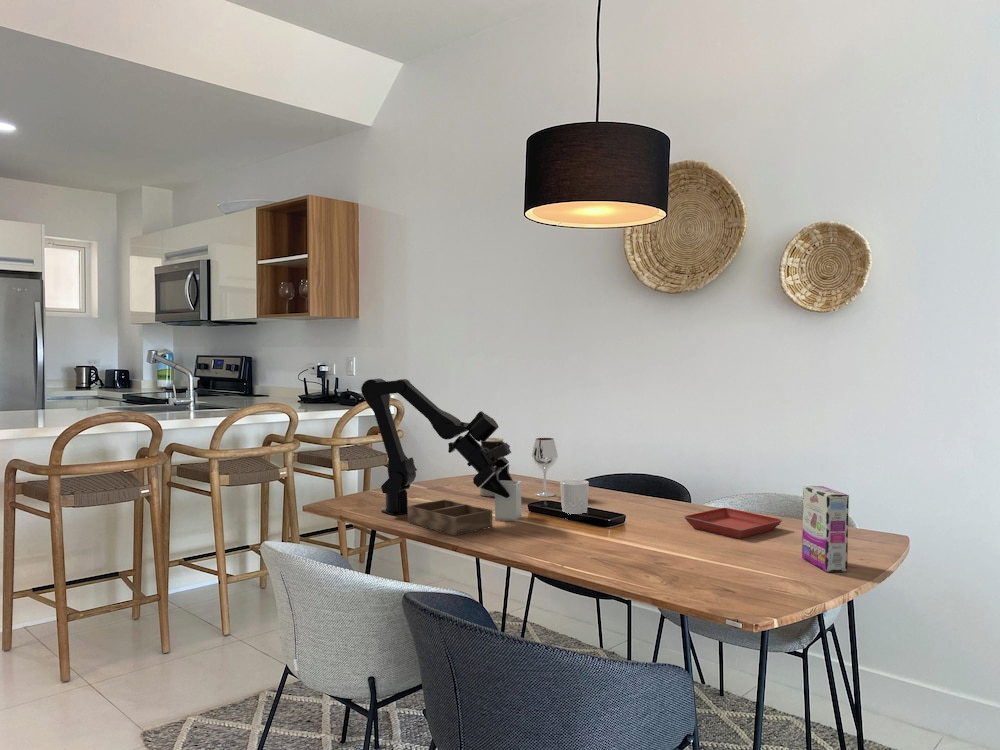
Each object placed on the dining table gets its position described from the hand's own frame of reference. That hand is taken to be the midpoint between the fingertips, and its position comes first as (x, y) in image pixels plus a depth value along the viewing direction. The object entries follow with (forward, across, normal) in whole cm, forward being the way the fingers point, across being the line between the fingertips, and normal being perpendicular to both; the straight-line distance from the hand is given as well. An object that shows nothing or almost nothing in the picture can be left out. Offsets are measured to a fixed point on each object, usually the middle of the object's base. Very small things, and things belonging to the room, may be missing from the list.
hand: (512, 493), depth 211 cm
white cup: (+17, +5, -6) cm, 19 cm away
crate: (-6, -11, +15) cm, 20 cm away
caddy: (+4, 0, +6) cm, 7 cm away
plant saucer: (+47, +2, -36) cm, 59 cm away
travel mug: (-5, +31, +15) cm, 35 cm away
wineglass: (+7, +35, +4) cm, 35 cm away
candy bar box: (+59, -28, -48) cm, 81 cm away
